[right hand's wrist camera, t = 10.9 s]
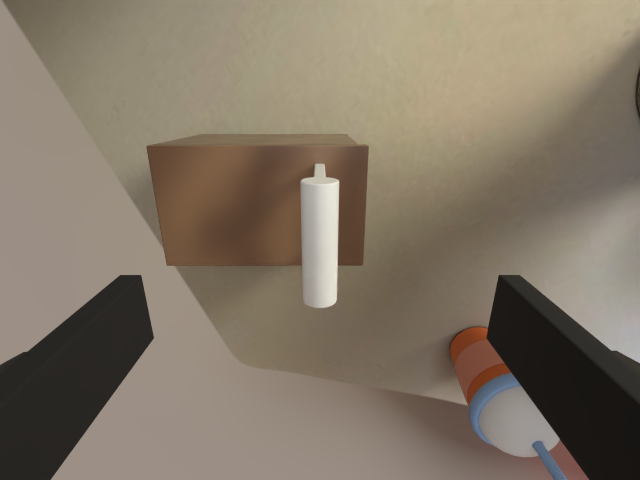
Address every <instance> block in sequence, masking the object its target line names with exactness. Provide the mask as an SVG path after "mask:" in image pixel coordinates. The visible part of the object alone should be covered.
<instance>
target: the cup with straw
mask: <svg viewBox="0 0 640 480" xmlns="http://www.w3.org/2000/svg"><path fill="white" fill-rule="evenodd" d="M487 331H488V329H487V328H483V327H474V328H469V329H467V330H464V331H462V332H461V333H459V334H458V335H457V336H456V337H455V338H454V340H453V341H452V344H451V347H450V354H451V357H452V360H453V363H454V365H455V371H456V375H457V378H458V380H459V383H460V385H461V388H462V391H463V393H464V396H465V399H466V401H467V404H468V406H469V420H470V423H471V426H472V428H473V429H474V431H475V432H476V434H477V435H478V436H479V437H480V438H481V439H483V440H484V441H485V442H487V443H489V444H491V445H493V446H496V447H497V448H499V449H500V450H502V451H504V452H506V453H509V454H511V455H515V456H520V457H533V456H538V455H539V457H540V458H541V460H542V462H543V463H544V465H545V466H546V468H547V470H548V471H549V473H550V474H551V476H552V478H553V479H554V480H567V479H566V477H565V476H564V474H563V473H562V471H561V470H560V468H559V467H558V466H557V464H556V462H555V461H554V459H553V458H552V456H551V455H550V453H549V452H548V451H549V450H551V449H552V448H553V447H554V446H555V445H556V444H557V443H558V441H559V440H560V439H559V437H558V436H557V434H556V433H555V432H554V430H553V429H552V428H551V426H550V425H549V424H548V422H547V421H546V419H545V418H544V417H543V415H542V414H541V413H540V411H539V410H538V408H537V407H536V406H535V404H534V403H533V402H532V400H531V399H530V397H529V396H528V395H527V393H526V392H525V391H524V389H523V388H522V386H521V385H520V384H519V382H518V381H517V380H516V378H515V377H514V376H513V374H512V373H511V371H510V370H509V369H508V367H507V366H506V365H505V363H504V362H503V360H502V359H501V358H500V356H499V355H498V354H497V352H496V351H495V349H494V348H493V347H492V345H491V344H490V343H489V341H488V340H487V339H486V336H487Z"/></svg>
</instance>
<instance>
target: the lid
mask: <svg viewBox="0 0 640 480" xmlns="http://www.w3.org/2000/svg"><path fill="white" fill-rule="evenodd" d="M368 149H369V146H368V145H148V146H147V152H148V158H149V164H150V170H151V176H152V182H153V187H154V193H155V199H156V205H157V211H158V217H159V223H160V228H161V234H162V240H163V246H164V252H165V258H166V263H167V265H169V266H198V265H302V291H303V302H304V303H305V304H306V305H308V306H310V307H313V308H326V307H330V306H332V305H333V304H335V303H336V301H337V266H338V265H363V253H364V232H365V211H366V190H367V170H368Z"/></svg>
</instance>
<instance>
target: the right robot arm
mask: <svg viewBox="0 0 640 480" xmlns="http://www.w3.org/2000/svg"><path fill="white" fill-rule="evenodd" d="M637 100H638V108H639V113H640V76H639V81H638V90H637ZM153 338H154V336H153V331H152V327H151V322H150V317H149V312H148V307H147V302H146V297H145V292H144V287H143V282H142V277H141V275H120V276H119V277H118V278H116V279H115V280H114V281H113V282H111V283H110V284H109V285H108V286H107V287H105V288H104V289H103V290H102V291H101V292H99V293H98V294H97V295H96V296H94V297H93V298H92V299H91V300H90V301H88V302H87V303H86V304H85V305H84V306H82V307H81V308H80V309H79V310H78V311H76V312H75V313H74V314H73V315H71V316H70V317H69V318H68V319H67V320H65V321H64V322H63V323H62V324H61V325H59V326H58V327H57V328H56V329H55V330H53V331H52V332H51V333H50V334H49V335H47V336H46V337H45V338H44V339H42V340H41V341H40V342H39V343H38V344H36V345H35V346H34V347H33V348H32V349H30V350H29V351H28V352H23V353H21V354H19V355H18V356H16V357H14V358H12V359H10V360H8V361H7V362H5V363H3V364H1V365H0V480H51V478H52V477H53V475H54V474H55V473H56V472H57V470H58V469H59V467H60V466H61V465H62V463H63V462H64V460H65V459H66V458H67V456H68V455H69V454H70V452H71V451H72V450H73V448H74V447H75V445H76V444H77V443H78V441H79V440H80V438H81V437H82V436H83V434H84V433H85V432H86V430H87V429H88V428H89V426H90V425H91V424H92V422H93V421H94V419H95V418H96V417H97V415H98V414H99V412H100V411H101V410H102V408H103V407H104V406H105V404H106V403H107V401H108V400H109V399H110V397H111V396H112V395H113V393H114V392H115V391H116V389H117V388H118V386H119V385H120V384H121V382H122V381H123V380H124V378H125V377H126V376H127V374H128V373H129V371H130V370H131V369H132V367H133V366H134V365H135V363H136V362H137V360H138V359H139V358H140V356H141V355H142V354H143V352H144V351H145V349H146V348H147V347H148V345H149V344H150V343H151V341H152V340H153ZM486 339H487V340H488V341H489V343H490V344H491V345H492V347H493V348H494V349H495V351H496V352H497V354H498V355H499V356H500V358H501V359H502V360H503V362H504V363H505V365H506V366H507V367H508V369H509V370H510V371H511V373H512V374H513V376H514V377H515V378H516V380H517V381H518V382H519V384H520V385H521V386H522V388H523V389H524V391H525V392H526V393H527V395H528V396H529V397H530V399H531V400H532V402H533V403H534V404H535V406H536V407H537V408H538V410H539V411H540V413H541V414H542V415H543V417H544V418H545V419H546V421H547V422H548V424H549V425H550V426H551V428H552V429H553V430H554V432H555V433H556V434H557V436H558V437H559V439H560V440H561V441H562V443H563V444H564V445H565V447H566V448H567V450H568V451H569V452H570V454H571V455H572V456H573V458H574V459H575V461H576V462H577V463H578V465H579V466H580V467H581V469H582V470H583V471H584V473H585V474H586V475H587V477H588V478H589V480H640V363H638V362H636V361H634V360H633V359H631V358H629V357H627V356H625V355H623V354H621V353H620V352H618V351H611V350H610V349H608V348H607V347H606V346H605V345H604V344H602V343H601V342H600V341H599V340H598V339H596V338H595V337H594V336H593V335H592V334H590V333H589V332H588V331H587V330H585V329H584V328H583V327H582V326H581V325H579V324H578V323H577V322H576V321H575V320H573V319H572V318H571V317H570V316H569V315H567V314H566V313H565V312H564V311H562V310H561V309H560V308H559V307H558V306H556V305H555V304H554V303H553V302H552V301H550V300H549V299H548V298H547V297H546V296H544V295H543V294H542V293H541V292H539V291H538V290H537V289H536V288H535V287H533V286H532V285H531V284H530V283H529V282H527V281H526V280H525V279H524V278H523V277H521V276H520V275H499V277H498V282H497V287H496V292H495V297H494V302H493V307H492V312H491V317H490V322H489V327H488V331H487V336H486Z"/></svg>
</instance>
